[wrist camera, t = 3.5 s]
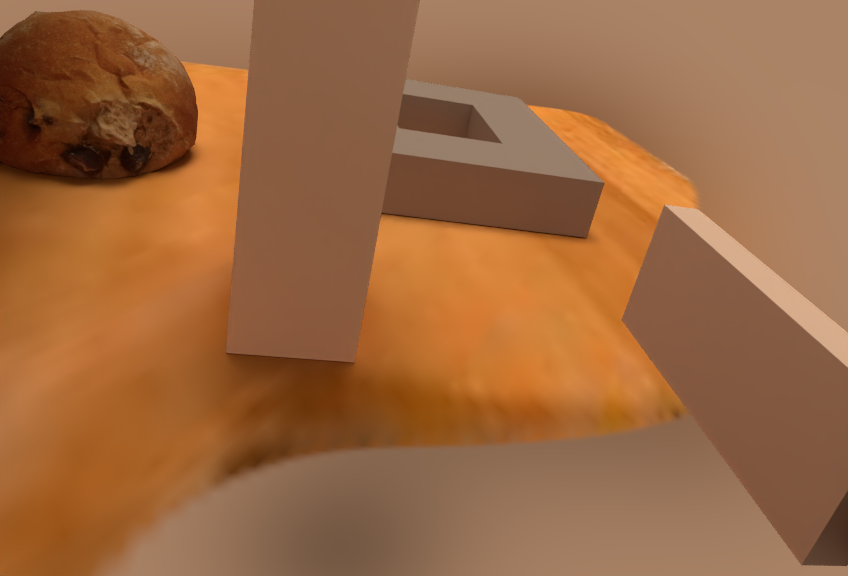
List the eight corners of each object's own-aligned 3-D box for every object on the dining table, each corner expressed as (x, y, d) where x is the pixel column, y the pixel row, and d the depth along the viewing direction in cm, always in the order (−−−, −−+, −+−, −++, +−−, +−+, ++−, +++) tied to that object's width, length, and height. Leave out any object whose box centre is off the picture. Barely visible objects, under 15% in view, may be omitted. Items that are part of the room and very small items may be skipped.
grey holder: (310, 204, 34) (318, 142, 33) (307, 109, 48) (312, 63, 46) (586, 237, 37) (604, 182, 36) (508, 140, 51) (519, 97, 49)
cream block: (221, 382, 21) (269, -226, 14) (242, 246, 29) (279, -190, 22) (357, 391, 22) (464, -178, 15) (342, 257, 30) (407, -159, 23)
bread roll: (200, 202, 41) (215, 59, 40) (173, 190, 31) (193, -1, 30) (7, 177, 39) (22, 26, 38) (-89, 156, 29) (-70, -49, 28)
